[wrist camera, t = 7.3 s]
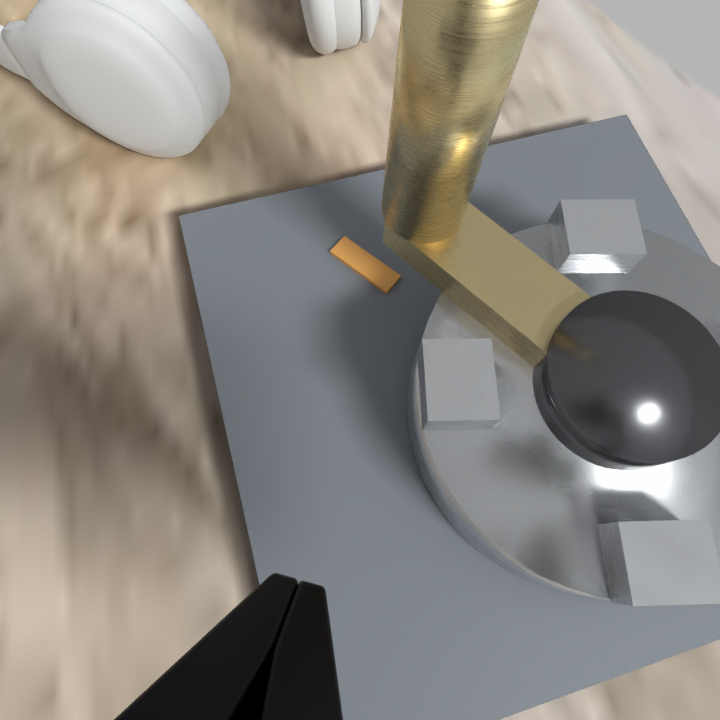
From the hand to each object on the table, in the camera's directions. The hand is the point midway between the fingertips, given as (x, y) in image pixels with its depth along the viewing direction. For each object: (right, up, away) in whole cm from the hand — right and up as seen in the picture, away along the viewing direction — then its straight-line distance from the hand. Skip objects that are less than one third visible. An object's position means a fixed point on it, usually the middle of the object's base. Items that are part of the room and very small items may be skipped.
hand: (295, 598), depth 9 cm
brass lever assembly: (+7, +3, +11) cm, 14 cm away
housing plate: (+6, +3, +13) cm, 15 cm away
